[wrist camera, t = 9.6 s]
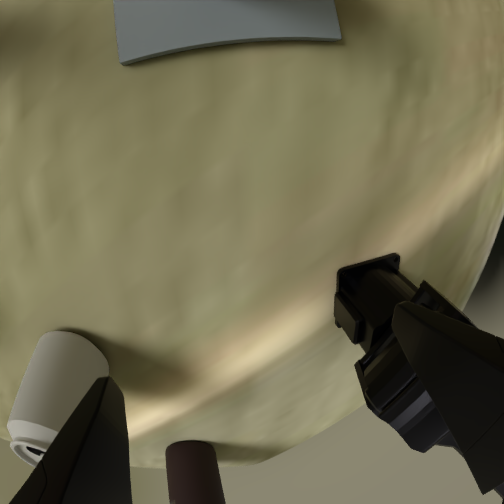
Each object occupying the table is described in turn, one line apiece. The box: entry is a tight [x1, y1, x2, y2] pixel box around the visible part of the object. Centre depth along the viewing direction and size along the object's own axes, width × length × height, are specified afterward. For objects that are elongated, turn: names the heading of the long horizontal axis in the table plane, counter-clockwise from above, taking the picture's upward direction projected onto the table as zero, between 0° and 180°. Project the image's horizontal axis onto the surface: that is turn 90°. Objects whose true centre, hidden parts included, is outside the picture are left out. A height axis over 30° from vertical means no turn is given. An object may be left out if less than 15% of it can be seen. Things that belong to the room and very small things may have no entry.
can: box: [7, 331, 110, 467], centre depth 17 cm, size 8×8×12 cm
